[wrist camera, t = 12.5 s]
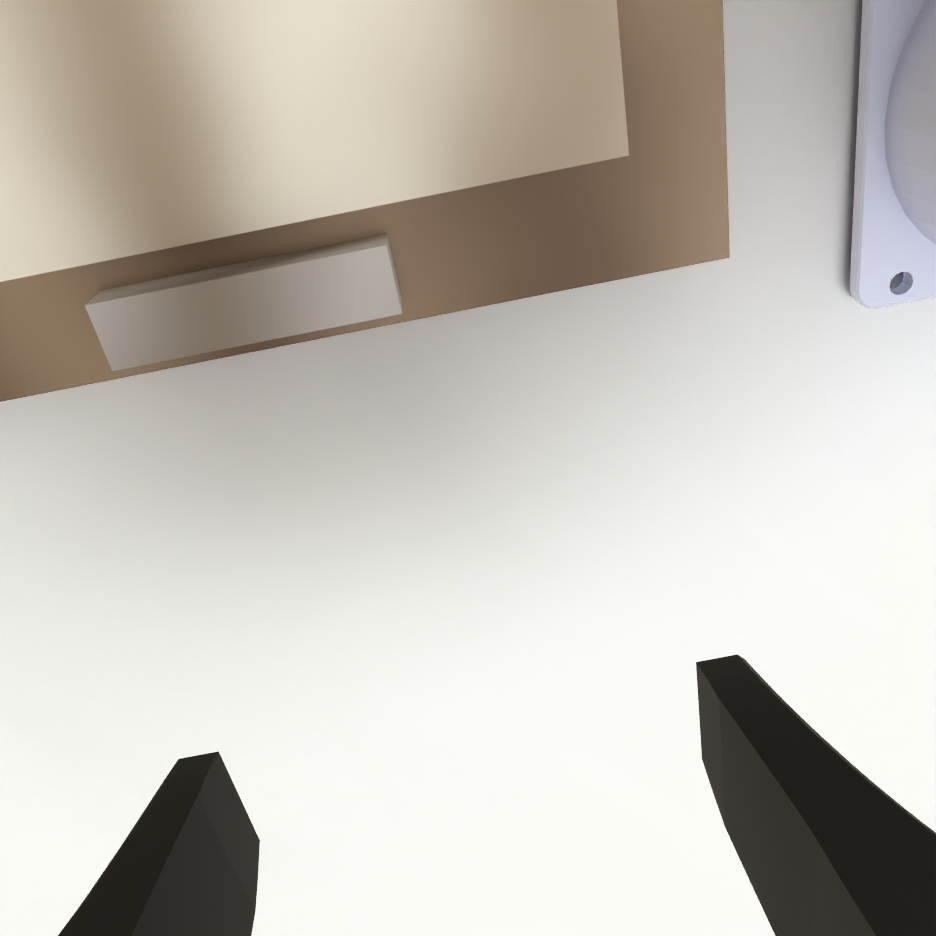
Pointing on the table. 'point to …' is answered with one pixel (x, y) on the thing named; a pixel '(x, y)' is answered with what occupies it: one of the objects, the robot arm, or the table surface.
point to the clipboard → (336, 167)
